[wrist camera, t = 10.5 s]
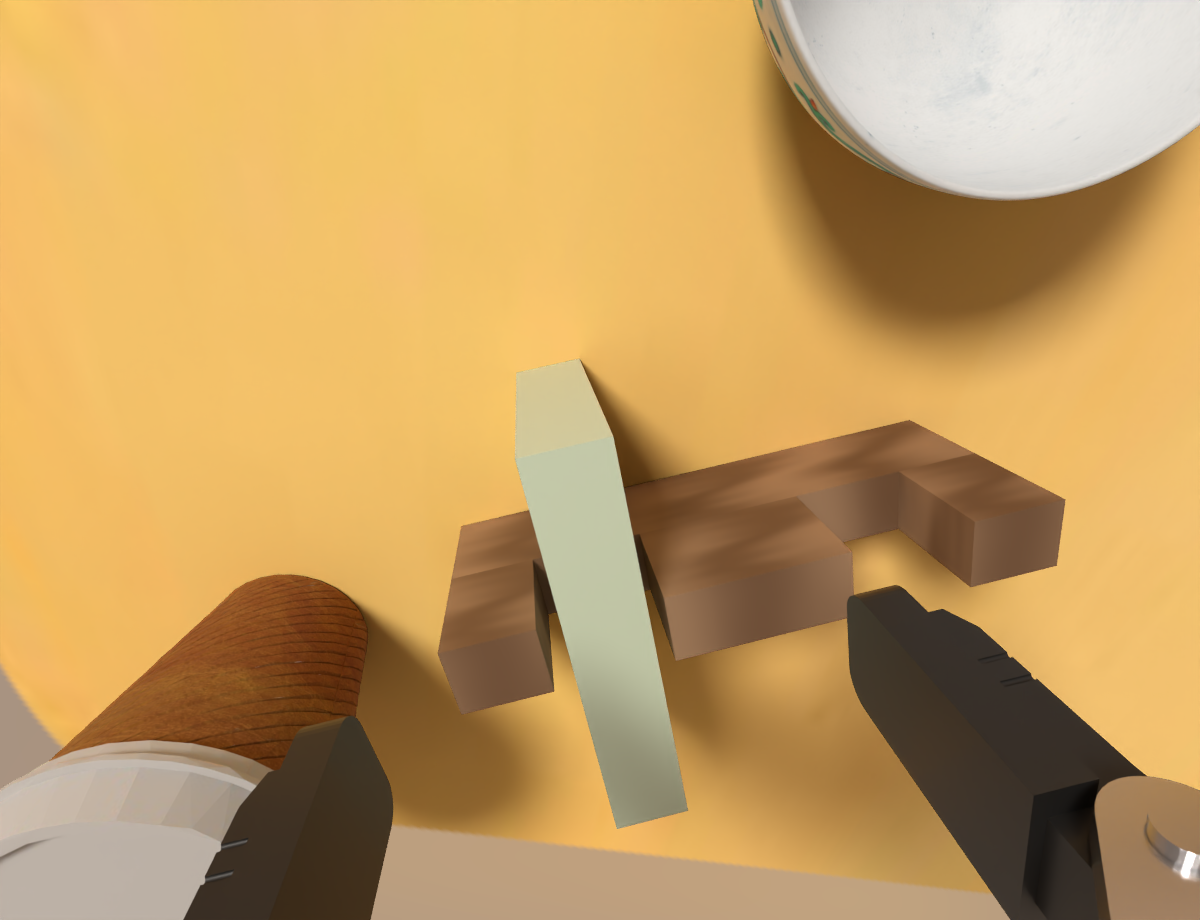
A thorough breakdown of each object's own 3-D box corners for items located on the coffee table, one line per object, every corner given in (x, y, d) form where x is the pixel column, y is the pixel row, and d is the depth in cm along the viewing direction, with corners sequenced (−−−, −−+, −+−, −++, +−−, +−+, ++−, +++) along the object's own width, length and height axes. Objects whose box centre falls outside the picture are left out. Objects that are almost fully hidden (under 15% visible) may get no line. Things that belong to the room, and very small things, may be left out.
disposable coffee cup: (448, 615, 27) (398, 894, 16) (328, 747, 29) (208, 1078, 17) (250, 497, 23) (10, 743, 12) (130, 654, 25) (-170, 989, 14)
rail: (909, 420, 26) (1065, 499, 18) (909, 470, 27) (1056, 565, 19) (461, 526, 25) (437, 653, 18) (477, 574, 26) (461, 714, 19)
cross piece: (516, 372, 23) (515, 458, 15) (579, 358, 23) (613, 436, 15) (588, 651, 28) (617, 829, 20) (638, 639, 28) (687, 810, 20)
